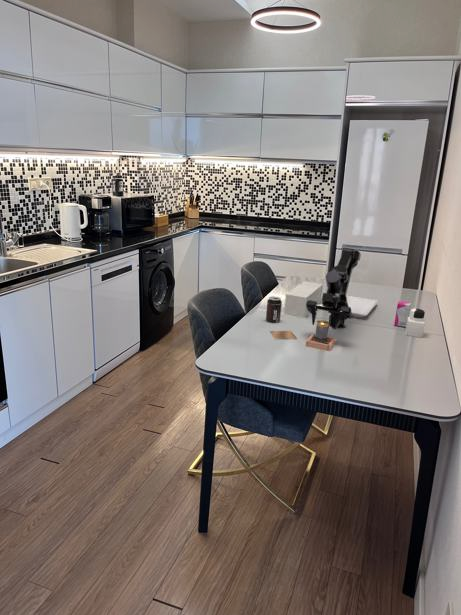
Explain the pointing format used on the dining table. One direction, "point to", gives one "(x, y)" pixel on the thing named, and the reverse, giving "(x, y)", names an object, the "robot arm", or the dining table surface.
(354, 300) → the tray
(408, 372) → the dining table surface
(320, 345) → the shallow wooden box
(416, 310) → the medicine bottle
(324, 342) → the battery cell
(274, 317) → the beverage can
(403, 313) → the supplement box
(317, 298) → the long white box
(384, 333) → the dining table surface
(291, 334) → the tester plate
